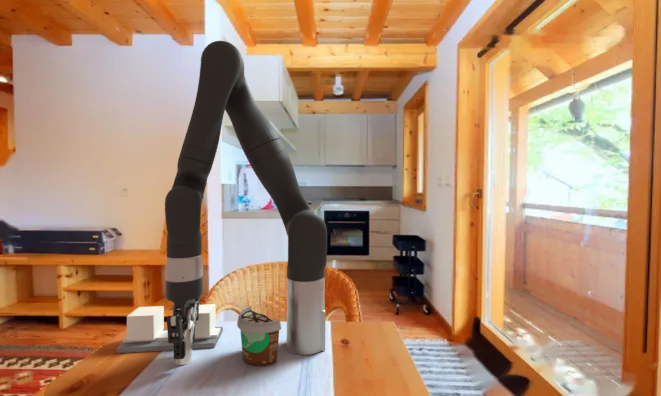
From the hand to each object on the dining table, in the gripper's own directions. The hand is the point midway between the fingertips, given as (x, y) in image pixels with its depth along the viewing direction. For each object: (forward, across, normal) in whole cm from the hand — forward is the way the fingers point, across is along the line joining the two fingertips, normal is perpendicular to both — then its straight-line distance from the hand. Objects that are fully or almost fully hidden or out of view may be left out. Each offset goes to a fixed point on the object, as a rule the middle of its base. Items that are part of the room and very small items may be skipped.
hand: (184, 350), depth 69 cm
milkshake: (+3, 0, 0) cm, 3 cm away
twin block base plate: (+3, +10, +6) cm, 12 cm away
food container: (+3, -1, -15) cm, 15 cm away
